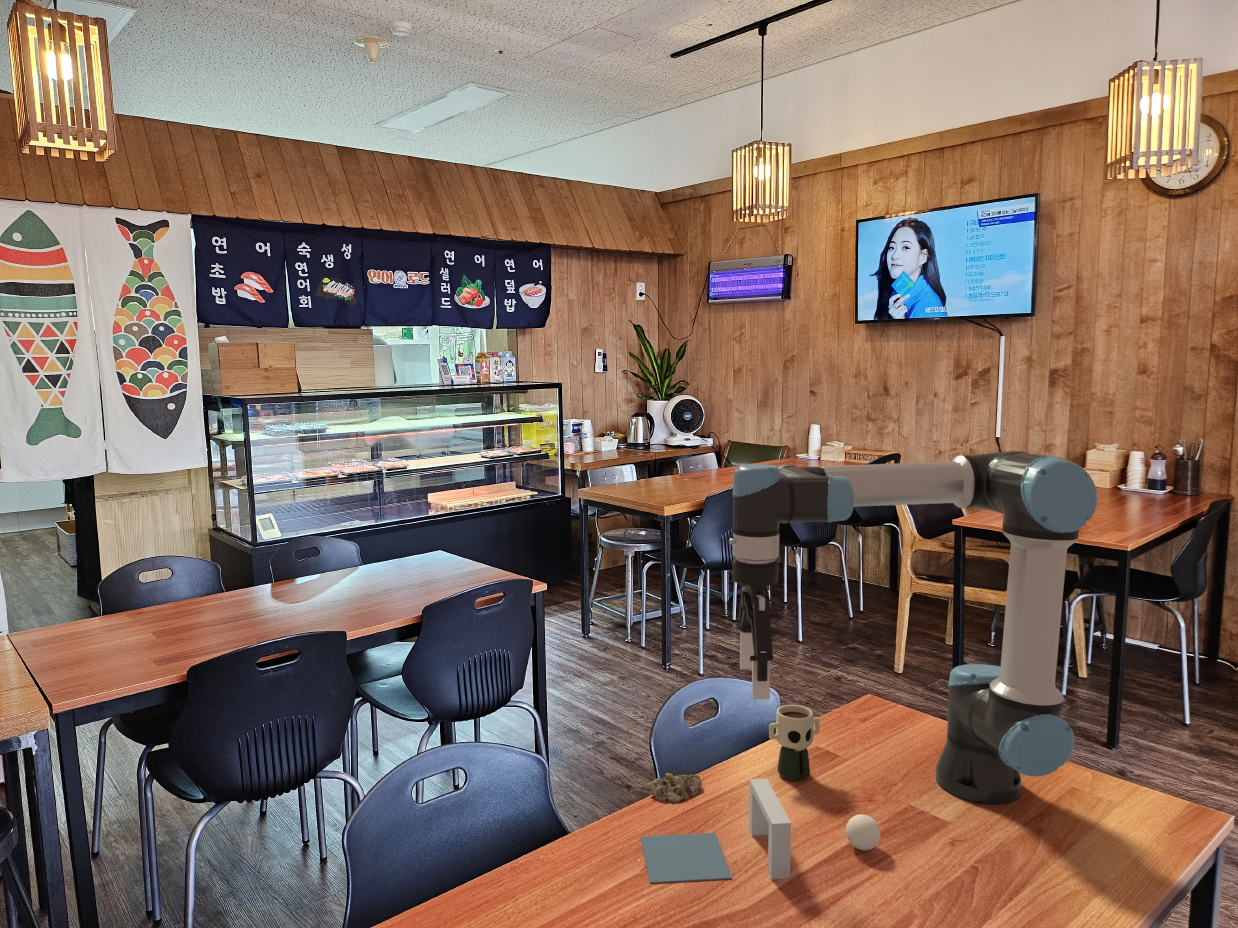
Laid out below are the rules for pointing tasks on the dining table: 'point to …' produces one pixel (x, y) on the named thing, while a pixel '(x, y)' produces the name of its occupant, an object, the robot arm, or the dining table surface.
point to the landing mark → (684, 858)
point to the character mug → (794, 739)
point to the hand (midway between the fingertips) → (754, 683)
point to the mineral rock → (675, 787)
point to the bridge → (770, 826)
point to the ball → (863, 832)
